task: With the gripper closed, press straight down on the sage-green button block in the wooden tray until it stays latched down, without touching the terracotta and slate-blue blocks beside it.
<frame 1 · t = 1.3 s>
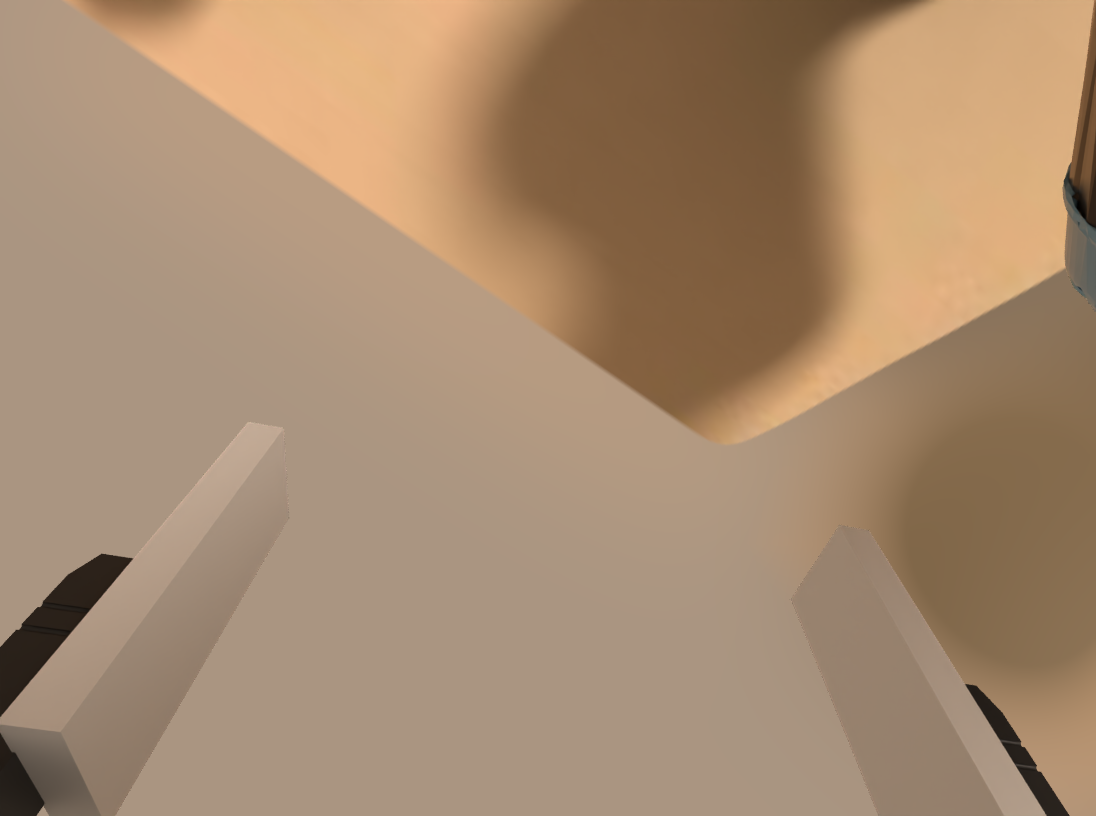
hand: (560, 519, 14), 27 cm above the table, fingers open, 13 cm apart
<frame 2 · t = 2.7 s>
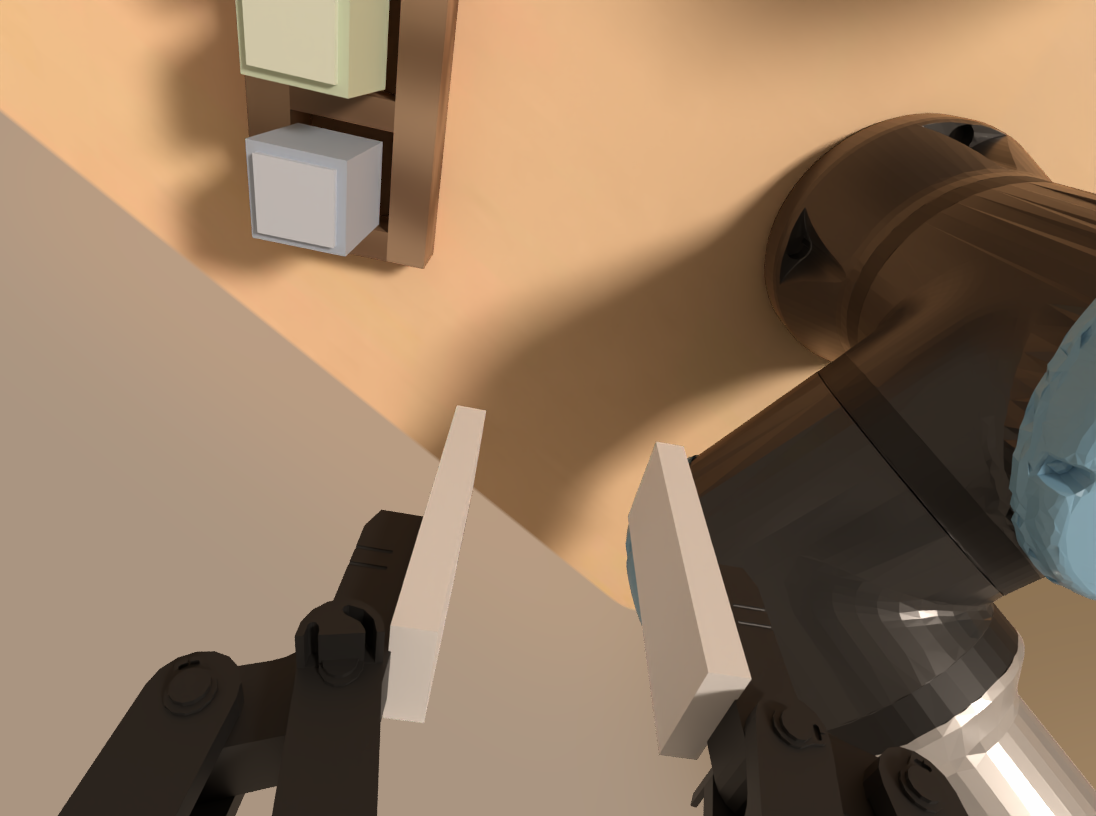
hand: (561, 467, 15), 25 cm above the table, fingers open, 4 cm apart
slate button: (319, 187, 29), point 6 cm above the table, slide at 0.0 cm
wooden tray: (361, 29, 31), on the table
sage button: (318, 25, 26), point 6 cm above the table, slide at 0.0 cm
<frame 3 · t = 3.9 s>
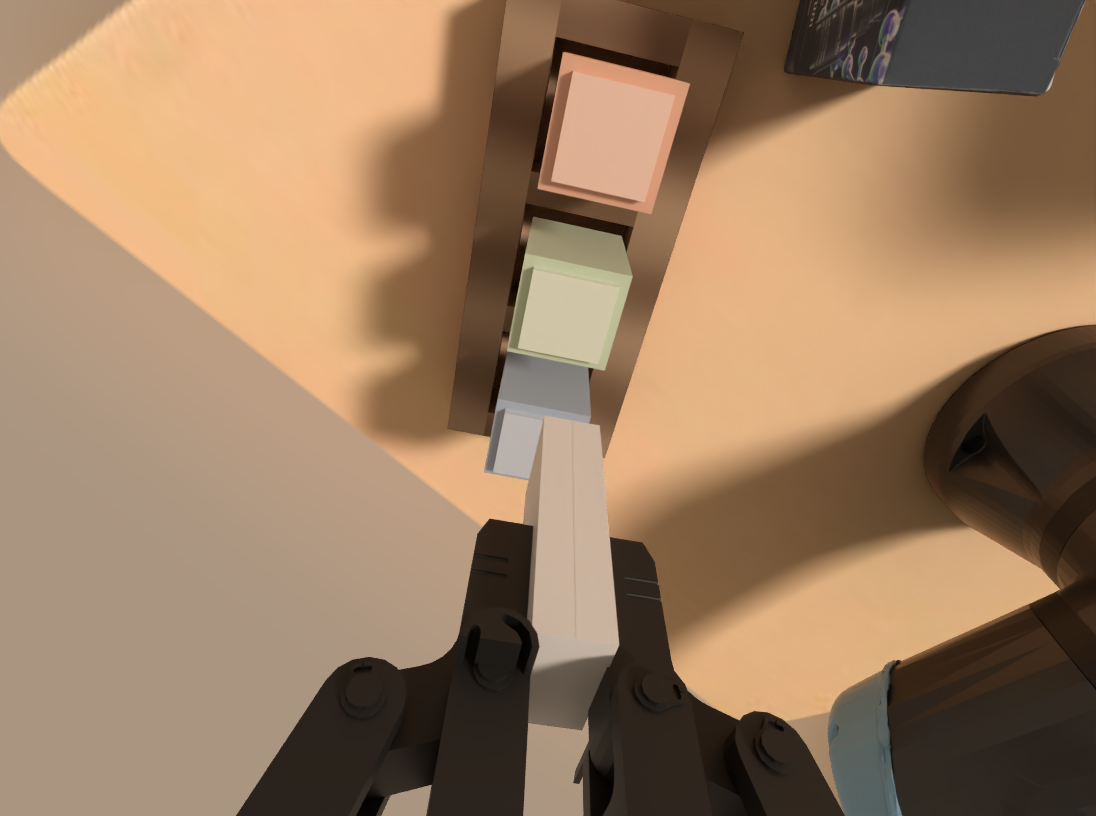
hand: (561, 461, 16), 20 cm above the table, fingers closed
slate button: (538, 414, 31), point 6 cm above the table, slide at 0.0 cm
wooden tray: (567, 250, 32), on the table
sage button: (567, 291, 27), point 6 cm above the table, slide at 0.0 cm
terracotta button: (605, 129, 23), point 6 cm above the table, slide at 0.0 cm
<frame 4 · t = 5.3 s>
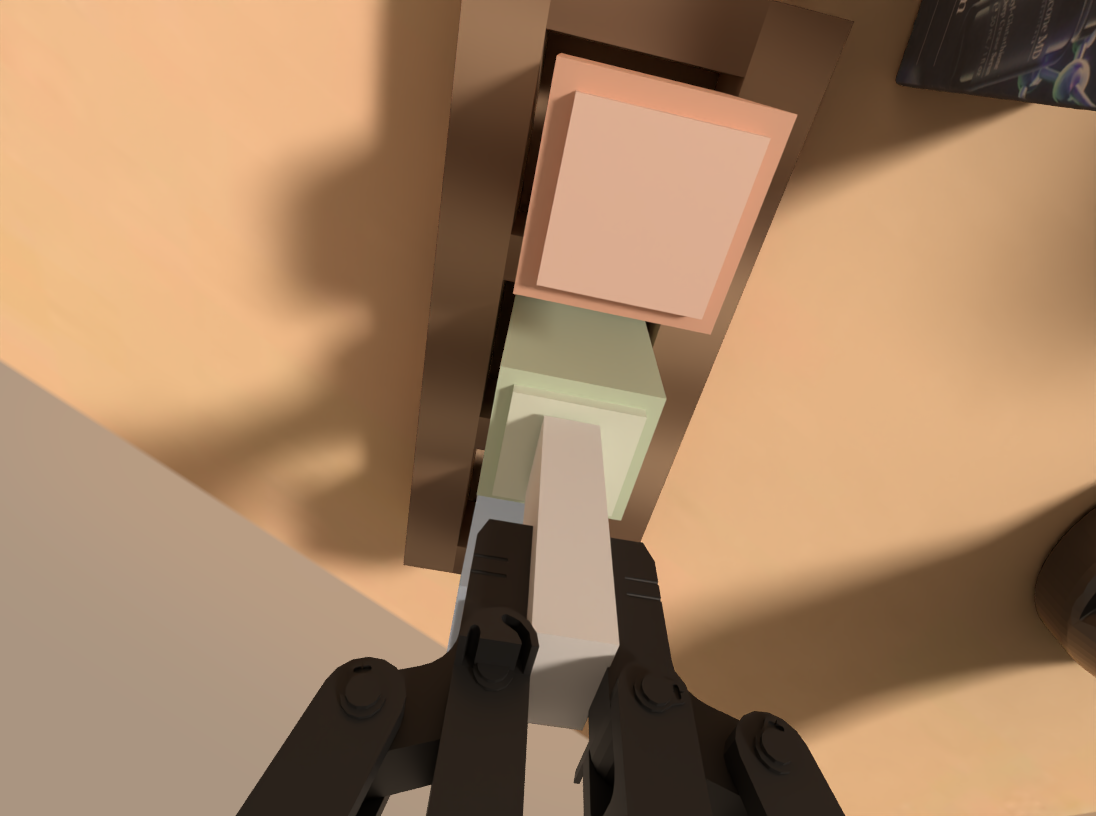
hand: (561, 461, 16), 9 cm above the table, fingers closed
slate button: (524, 575, 21), point 6 cm above the table, slide at 0.0 cm
wooden tray: (566, 332, 23), on the table
sage button: (566, 398, 19), point 5 cm above the table, slide at 1.3 cm, touching gripper
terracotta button: (630, 183, 14), point 6 cm above the table, slide at 0.0 cm
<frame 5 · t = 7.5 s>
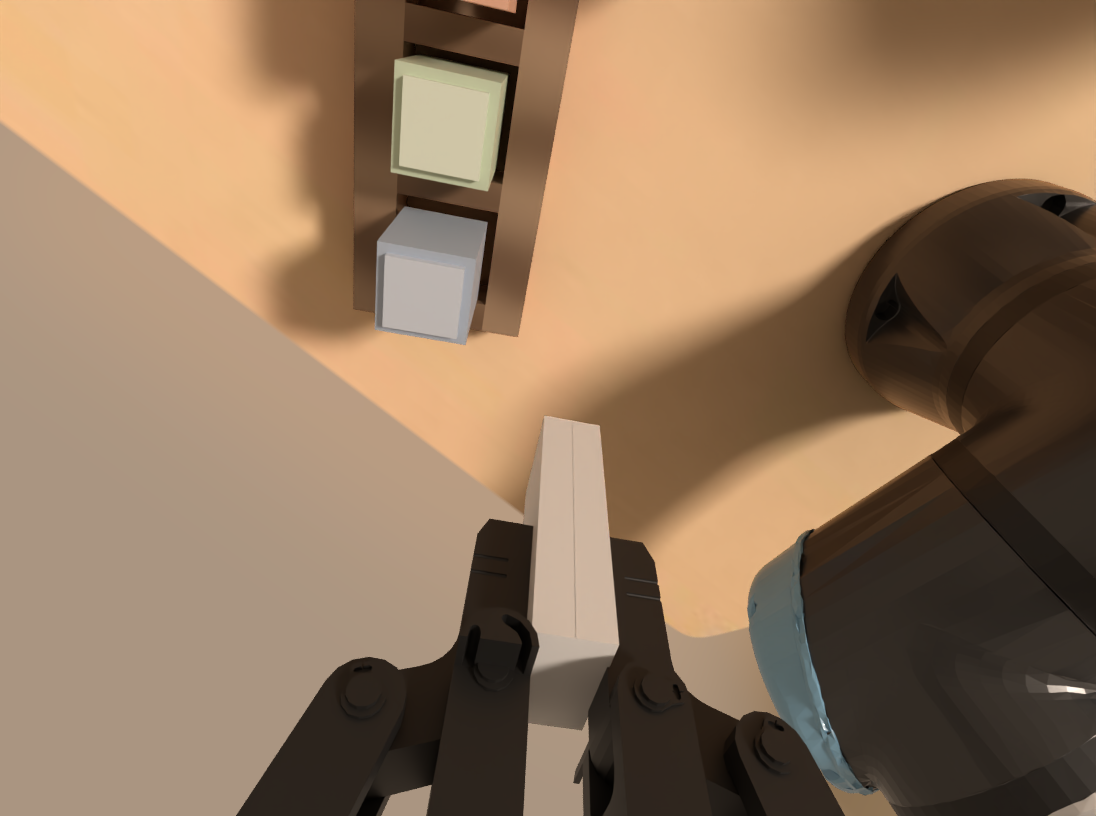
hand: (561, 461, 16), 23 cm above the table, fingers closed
slate button: (433, 274, 30), point 6 cm above the table, slide at 0.0 cm
wooden tray: (463, 109, 31), on the table
sage button: (452, 120, 28), point 4 cm above the table, slide at 2.2 cm
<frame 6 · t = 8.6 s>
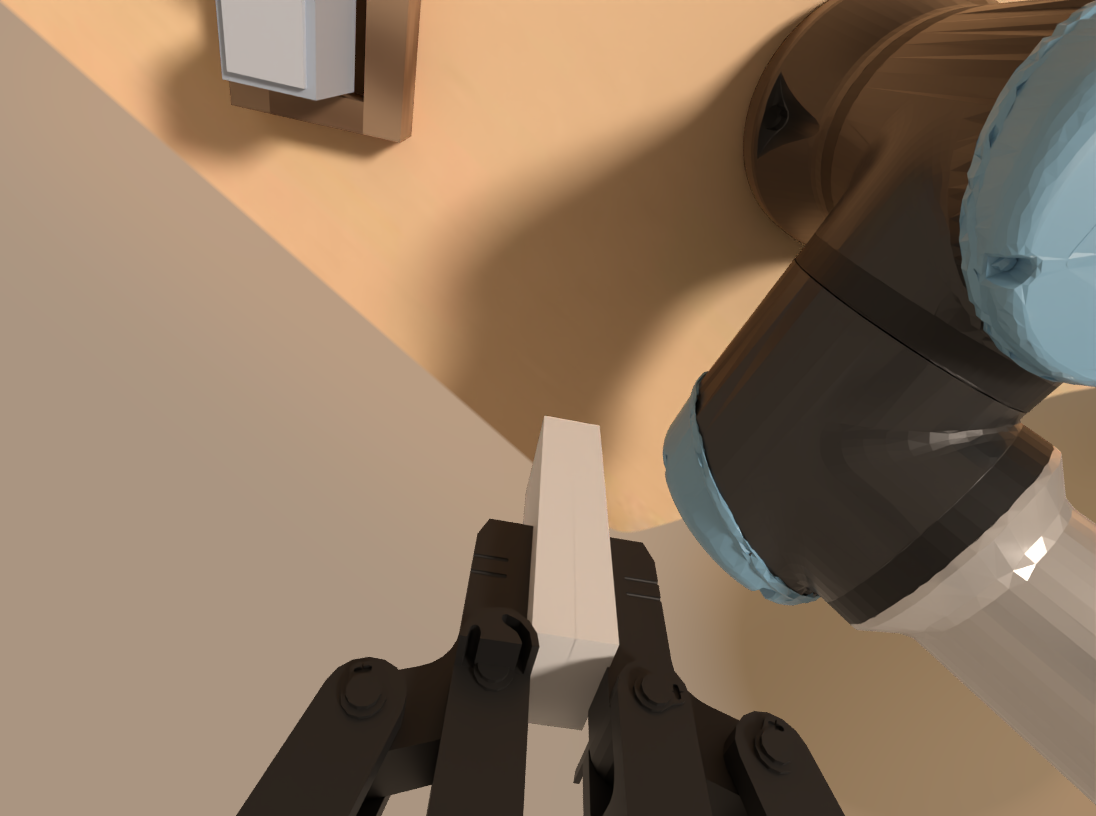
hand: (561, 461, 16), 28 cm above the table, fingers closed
slate button: (291, 36, 29), point 6 cm above the table, slide at 0.0 cm
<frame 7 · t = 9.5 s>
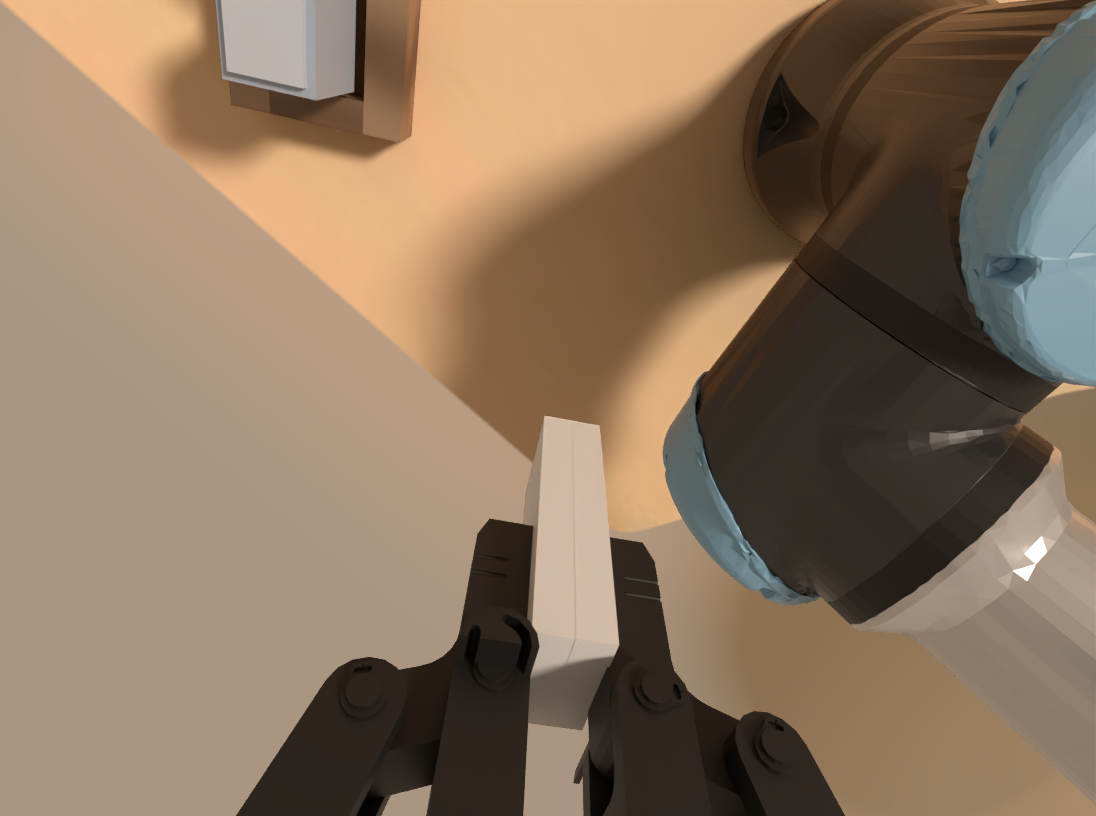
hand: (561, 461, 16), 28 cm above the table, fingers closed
slate button: (291, 36, 29), point 6 cm above the table, slide at 0.0 cm
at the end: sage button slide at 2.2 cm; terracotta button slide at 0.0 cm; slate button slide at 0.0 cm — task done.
